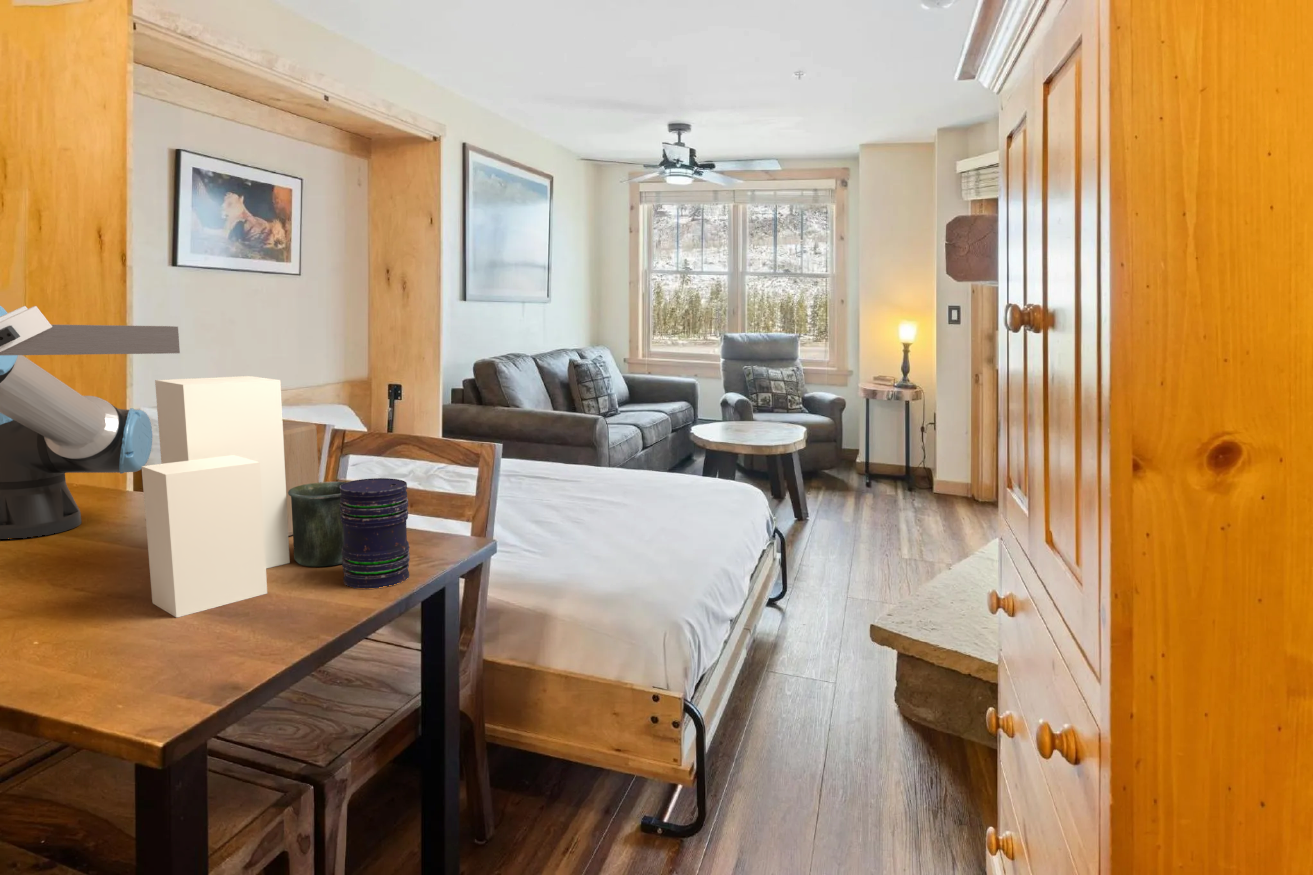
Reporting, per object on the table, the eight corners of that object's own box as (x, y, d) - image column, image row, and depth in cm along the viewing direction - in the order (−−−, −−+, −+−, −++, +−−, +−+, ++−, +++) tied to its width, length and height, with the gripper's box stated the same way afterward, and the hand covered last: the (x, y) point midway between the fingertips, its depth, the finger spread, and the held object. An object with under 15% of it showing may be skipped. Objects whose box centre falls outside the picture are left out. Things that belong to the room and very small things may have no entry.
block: (288, 538, 137) (282, 429, 134) (240, 534, 139) (233, 426, 136) (323, 524, 147) (318, 422, 144) (277, 520, 149) (272, 419, 146)
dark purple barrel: (335, 590, 112) (331, 492, 110) (350, 569, 122) (346, 478, 120) (405, 588, 114) (402, 491, 112) (414, 567, 124) (412, 477, 121)
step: (152, 603, 106) (141, 466, 103) (241, 581, 115) (233, 455, 112) (176, 617, 101) (165, 474, 98) (267, 593, 110) (259, 462, 107)
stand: (169, 570, 119) (155, 380, 114) (260, 550, 130) (250, 376, 125) (197, 585, 113) (183, 384, 108) (289, 562, 124) (280, 380, 120)
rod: (-50, 354, 85) (-54, 323, 84) (169, 352, 102) (167, 326, 102) (-43, 356, 83) (-46, 323, 82) (179, 353, 100) (178, 326, 100)
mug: (276, 561, 125) (272, 490, 123) (349, 540, 137) (346, 475, 136) (321, 573, 120) (318, 499, 118) (392, 549, 132) (390, 482, 131)
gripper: (-185, 450, 82) (39, 341, 96) (-164, 471, 72) (83, 346, 86) (-248, 392, 78) (-5, 288, 92) (-234, 406, 68) (36, 286, 82)
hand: (37, 316), depth 89 cm, fingers closed on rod, 3 cm apart
